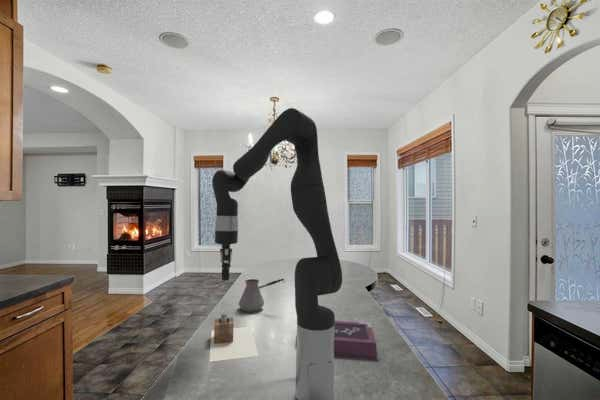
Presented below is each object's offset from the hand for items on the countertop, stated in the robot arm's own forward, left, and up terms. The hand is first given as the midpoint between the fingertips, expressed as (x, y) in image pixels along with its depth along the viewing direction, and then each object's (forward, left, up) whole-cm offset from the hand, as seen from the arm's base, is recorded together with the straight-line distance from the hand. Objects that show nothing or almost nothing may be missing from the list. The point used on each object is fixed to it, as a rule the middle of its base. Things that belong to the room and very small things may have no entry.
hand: (225, 277), depth 95 cm
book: (-8, -37, -23) cm, 44 cm away
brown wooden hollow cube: (0, 0, -20) cm, 20 cm away
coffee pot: (+29, -17, -22) cm, 40 cm away
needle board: (-3, -3, -22) cm, 22 cm away
